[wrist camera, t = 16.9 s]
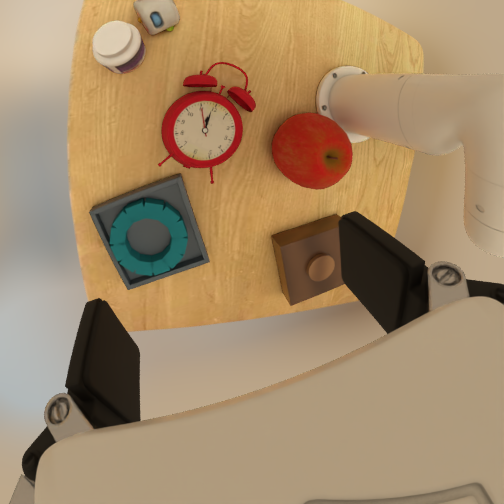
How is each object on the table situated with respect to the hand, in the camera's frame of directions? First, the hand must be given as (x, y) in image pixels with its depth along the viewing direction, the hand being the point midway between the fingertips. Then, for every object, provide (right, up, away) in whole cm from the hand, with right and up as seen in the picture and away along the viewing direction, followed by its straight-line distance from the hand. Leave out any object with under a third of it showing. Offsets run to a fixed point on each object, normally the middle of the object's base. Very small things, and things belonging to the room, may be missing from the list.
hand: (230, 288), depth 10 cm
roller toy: (-11, +31, +15) cm, 36 cm away
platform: (+11, +1, +38) cm, 40 cm away
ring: (-14, +4, +28) cm, 31 cm away
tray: (-14, +4, +28) cm, 32 cm away
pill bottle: (-15, +26, +16) cm, 34 cm away
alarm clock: (-5, +19, +23) cm, 30 cm away
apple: (+8, +17, +29) cm, 34 cm away
